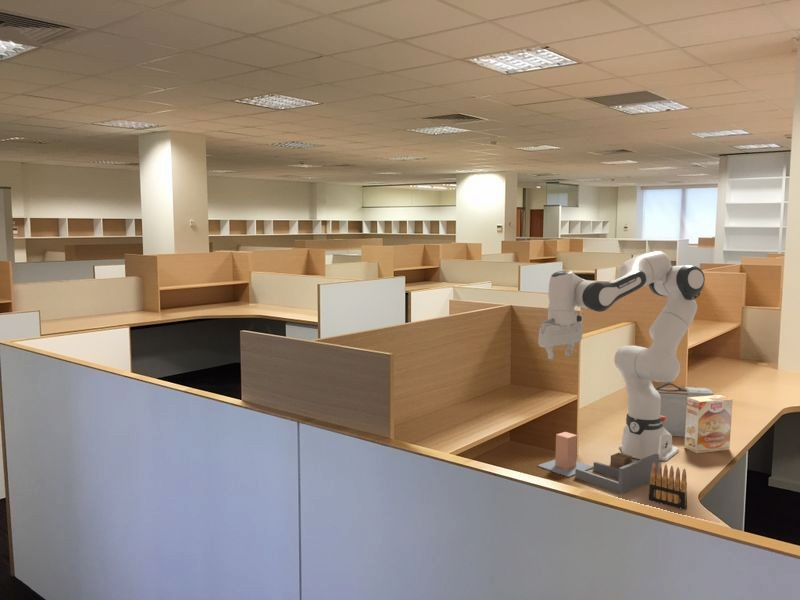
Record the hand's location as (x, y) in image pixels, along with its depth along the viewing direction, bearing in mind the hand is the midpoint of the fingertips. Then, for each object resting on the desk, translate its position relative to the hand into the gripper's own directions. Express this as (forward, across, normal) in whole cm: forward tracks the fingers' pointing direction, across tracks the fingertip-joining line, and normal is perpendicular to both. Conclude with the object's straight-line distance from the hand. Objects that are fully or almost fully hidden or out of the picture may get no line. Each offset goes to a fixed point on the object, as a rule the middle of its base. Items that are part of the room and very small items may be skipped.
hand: (559, 357), depth 229 cm
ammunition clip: (+37, -4, -44) cm, 58 cm away
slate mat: (+37, -3, -6) cm, 38 cm away
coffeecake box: (+37, +54, -27) cm, 71 cm away
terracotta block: (+37, -3, -6) cm, 37 cm away
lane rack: (+37, +2, -22) cm, 43 cm away
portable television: (+37, +65, -9) cm, 76 cm away
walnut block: (+37, +7, -21) cm, 43 cm away
